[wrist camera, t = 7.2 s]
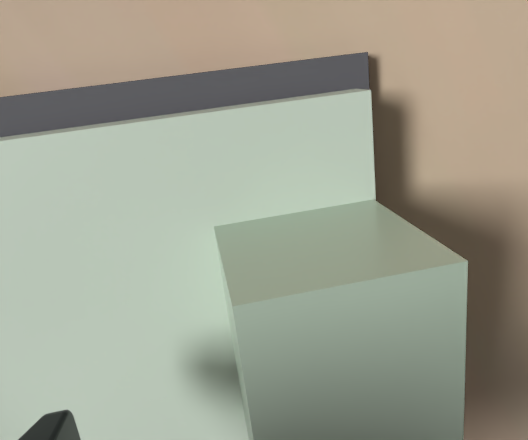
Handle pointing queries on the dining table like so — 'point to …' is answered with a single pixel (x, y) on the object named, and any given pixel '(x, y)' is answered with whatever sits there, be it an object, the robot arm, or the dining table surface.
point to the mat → (180, 93)
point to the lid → (223, 282)
